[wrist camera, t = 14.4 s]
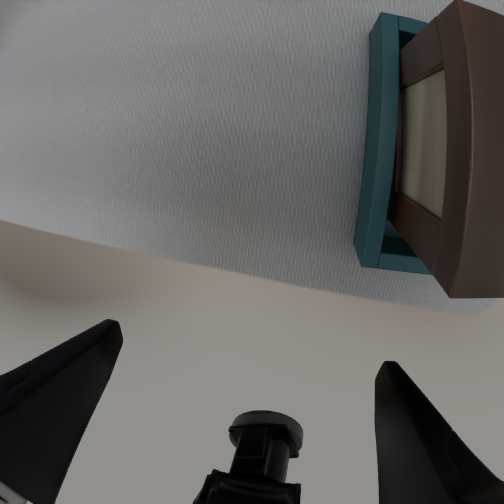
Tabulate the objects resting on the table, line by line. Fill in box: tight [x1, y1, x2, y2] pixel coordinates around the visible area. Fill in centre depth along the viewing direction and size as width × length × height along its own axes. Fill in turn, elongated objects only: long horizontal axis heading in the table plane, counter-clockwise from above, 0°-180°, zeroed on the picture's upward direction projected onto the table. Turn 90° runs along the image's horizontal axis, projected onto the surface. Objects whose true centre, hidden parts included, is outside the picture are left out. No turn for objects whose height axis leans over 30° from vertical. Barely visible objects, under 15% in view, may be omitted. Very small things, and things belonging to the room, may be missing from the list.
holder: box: [353, 12, 433, 275], centre depth 15 cm, size 8×14×4 cm, turn 177°
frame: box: [387, 0, 504, 298], centre depth 12 cm, size 4×10×11 cm, turn 2°
